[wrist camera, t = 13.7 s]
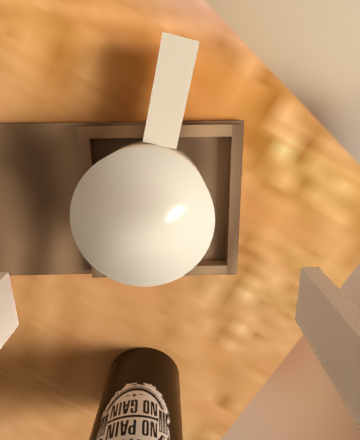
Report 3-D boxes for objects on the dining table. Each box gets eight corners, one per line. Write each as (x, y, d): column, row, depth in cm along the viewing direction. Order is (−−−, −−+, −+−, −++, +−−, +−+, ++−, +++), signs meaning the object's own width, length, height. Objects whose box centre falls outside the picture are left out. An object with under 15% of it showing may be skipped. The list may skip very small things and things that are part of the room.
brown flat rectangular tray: (-18, 271, 34) (-32, 282, 31) (-51, 124, 29) (-70, 124, 27) (235, 266, 34) (239, 277, 32) (241, 120, 29) (247, 120, 27)
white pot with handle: (190, 250, 32) (196, 297, 24) (92, 230, 31) (62, 272, 23) (236, 66, 27) (265, 42, 19) (121, 37, 26) (95, -3, 18)
